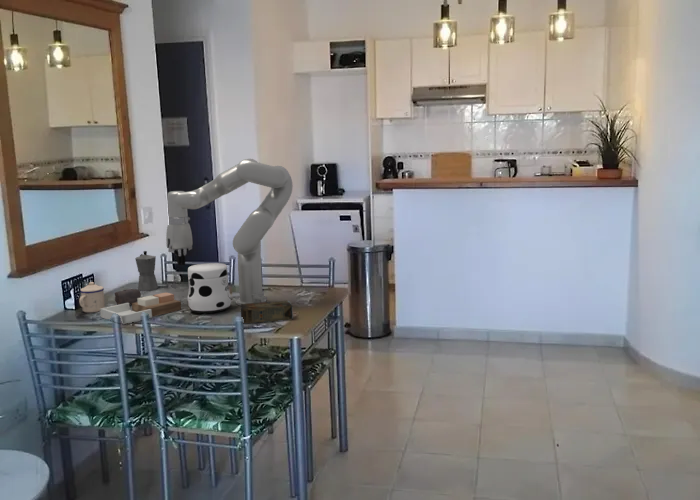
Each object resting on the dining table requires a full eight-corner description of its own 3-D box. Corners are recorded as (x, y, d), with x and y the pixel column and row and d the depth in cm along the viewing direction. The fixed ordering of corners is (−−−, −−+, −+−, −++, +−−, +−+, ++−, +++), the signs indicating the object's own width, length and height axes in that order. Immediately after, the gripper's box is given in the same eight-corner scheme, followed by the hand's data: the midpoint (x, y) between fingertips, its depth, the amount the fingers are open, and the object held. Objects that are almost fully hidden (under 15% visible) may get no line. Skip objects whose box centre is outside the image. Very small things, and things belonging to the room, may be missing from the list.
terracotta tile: (174, 300, 269) (173, 294, 268) (161, 303, 264) (160, 297, 264) (166, 298, 273) (166, 292, 272) (153, 300, 268) (153, 295, 268)
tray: (152, 318, 255) (151, 309, 255) (123, 325, 247) (122, 315, 246) (128, 311, 267) (128, 302, 267) (100, 317, 259) (99, 308, 258)
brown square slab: (181, 309, 267) (180, 301, 266) (150, 317, 257) (149, 308, 256) (162, 304, 276) (162, 296, 276) (132, 311, 266) (131, 303, 266)
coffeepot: (162, 289, 305) (159, 251, 302) (141, 292, 300) (138, 254, 297) (153, 284, 318) (150, 247, 315) (133, 286, 313) (130, 249, 310)
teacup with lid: (92, 306, 276) (89, 279, 274) (110, 307, 273) (107, 280, 272) (72, 314, 265) (69, 285, 263) (90, 315, 262) (87, 286, 260)
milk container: (240, 308, 267) (238, 264, 265) (209, 318, 253) (206, 272, 250) (210, 303, 277) (208, 261, 274) (179, 312, 263) (175, 268, 260)
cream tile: (159, 303, 264) (158, 297, 263) (145, 306, 259) (145, 300, 259) (151, 301, 268) (150, 295, 267) (137, 304, 263) (137, 298, 263)
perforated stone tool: (136, 300, 286) (135, 284, 285) (146, 301, 284) (144, 285, 283) (111, 308, 272) (109, 292, 271) (121, 309, 270) (119, 293, 269)
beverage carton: (293, 320, 247) (292, 303, 246) (242, 325, 243) (241, 307, 242) (290, 315, 255) (289, 298, 254) (240, 319, 251) (239, 302, 250)
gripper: (189, 218, 278) (191, 261, 281) (157, 222, 267) (160, 266, 270) (199, 219, 273) (201, 263, 276) (167, 223, 262) (170, 268, 265)
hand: (181, 264), depth 273 cm, fingers closed
